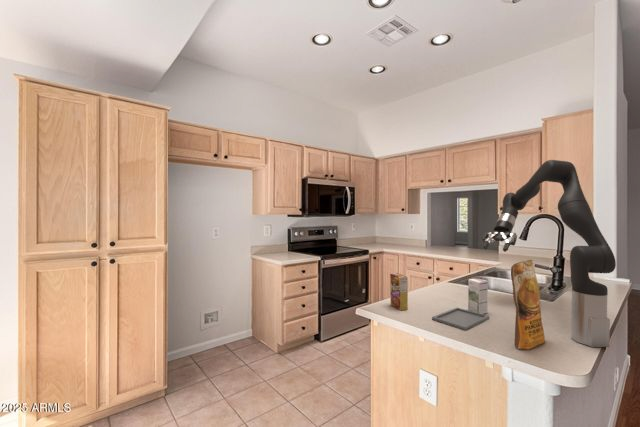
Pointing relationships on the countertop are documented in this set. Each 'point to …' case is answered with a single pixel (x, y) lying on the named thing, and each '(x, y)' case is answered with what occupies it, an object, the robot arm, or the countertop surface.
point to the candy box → (399, 291)
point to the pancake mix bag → (527, 306)
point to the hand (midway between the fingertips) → (494, 249)
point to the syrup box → (478, 295)
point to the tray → (460, 318)
